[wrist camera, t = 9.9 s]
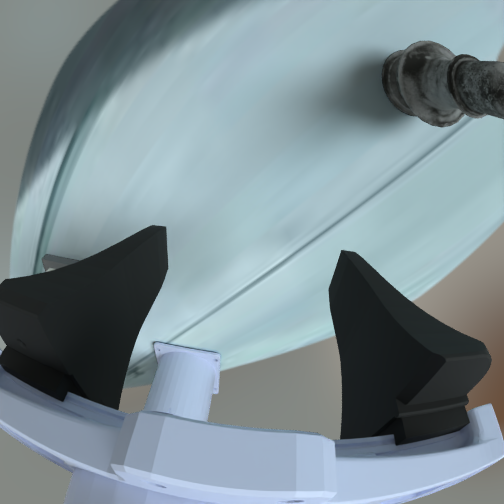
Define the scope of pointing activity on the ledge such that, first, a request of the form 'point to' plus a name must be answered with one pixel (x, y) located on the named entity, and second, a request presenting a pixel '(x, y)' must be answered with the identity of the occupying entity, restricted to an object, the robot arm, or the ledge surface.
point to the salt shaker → (443, 84)
